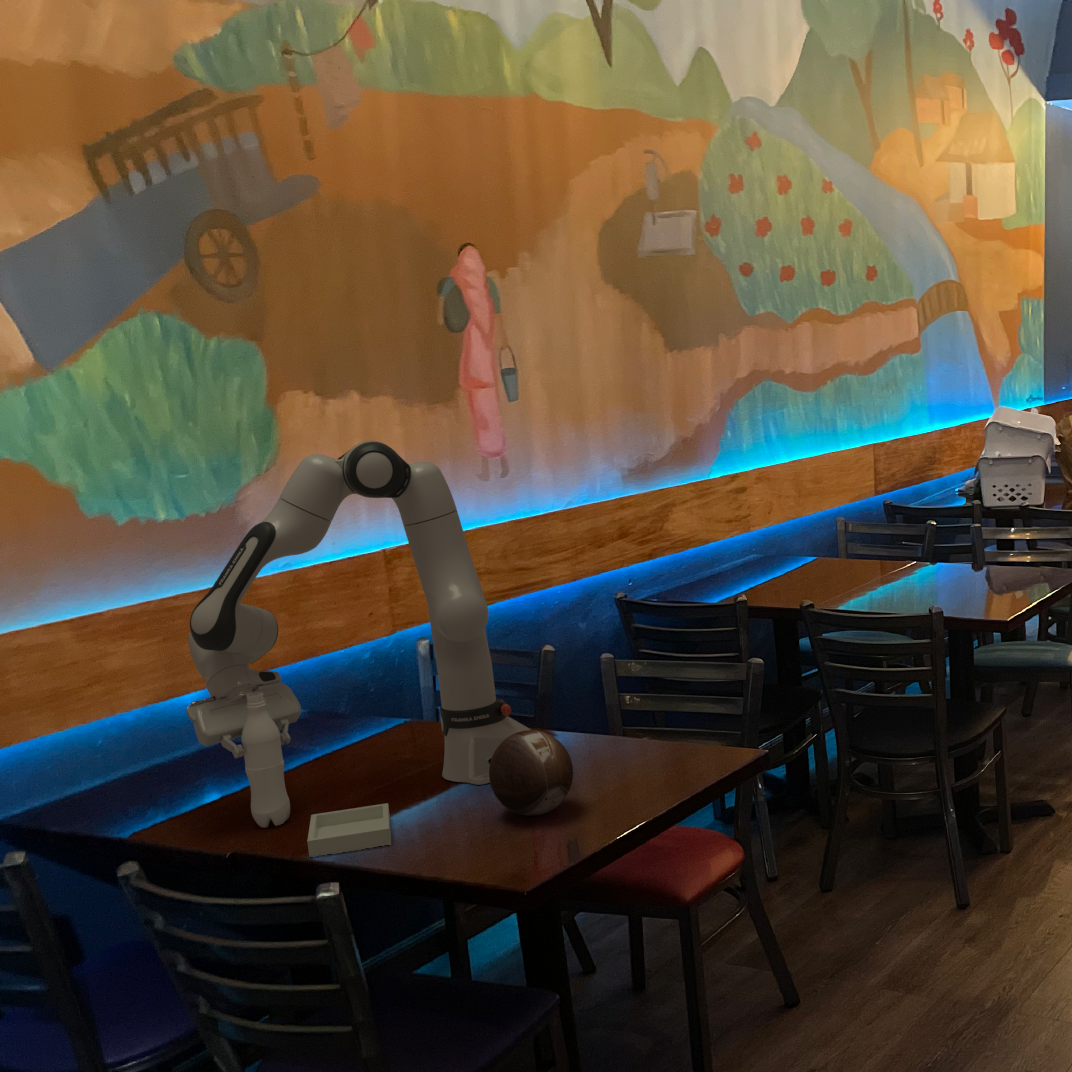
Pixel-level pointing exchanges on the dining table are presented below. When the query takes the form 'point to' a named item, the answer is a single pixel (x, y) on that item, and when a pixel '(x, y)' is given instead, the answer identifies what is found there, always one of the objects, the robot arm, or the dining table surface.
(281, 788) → the water bottle
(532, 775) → the wooden sphere
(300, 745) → the dining table surface
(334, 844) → the tray
